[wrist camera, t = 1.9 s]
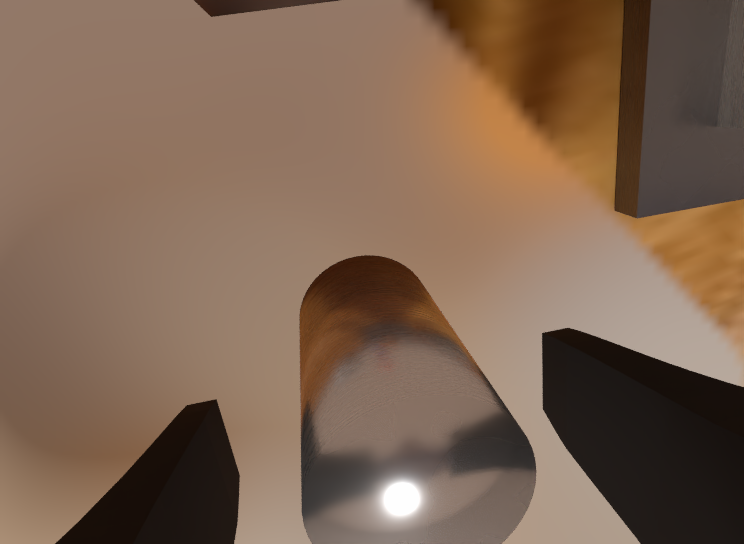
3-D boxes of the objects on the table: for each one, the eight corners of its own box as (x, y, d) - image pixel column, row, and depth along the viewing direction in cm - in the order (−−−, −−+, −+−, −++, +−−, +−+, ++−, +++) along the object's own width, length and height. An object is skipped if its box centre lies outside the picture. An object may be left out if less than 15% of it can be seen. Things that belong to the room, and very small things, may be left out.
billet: (435, 361, 15) (537, 554, 9) (312, 386, 15) (324, 607, 8) (423, 244, 14) (534, 371, 7) (287, 268, 14) (278, 425, 7)
